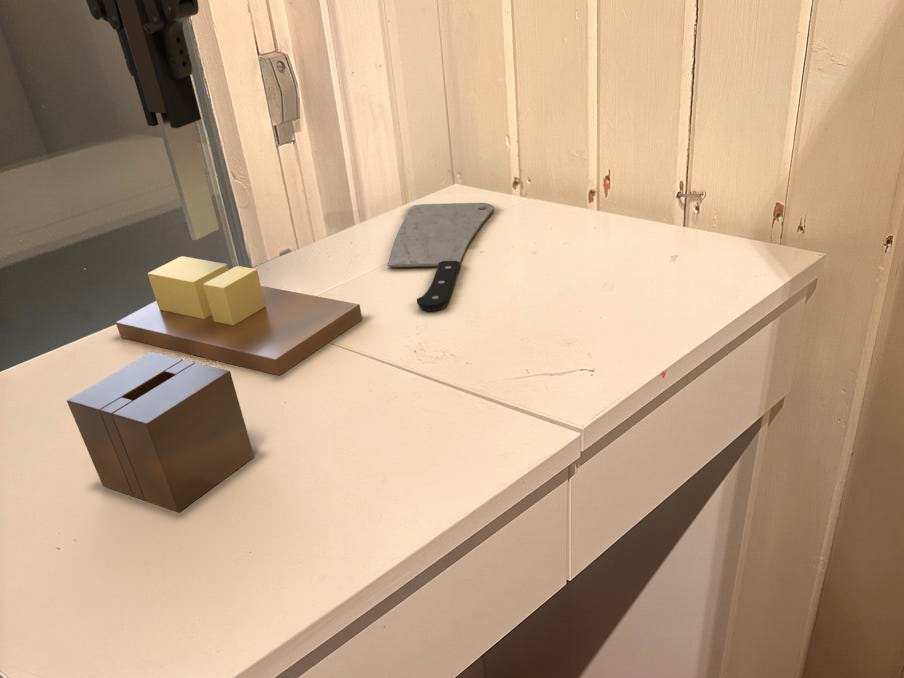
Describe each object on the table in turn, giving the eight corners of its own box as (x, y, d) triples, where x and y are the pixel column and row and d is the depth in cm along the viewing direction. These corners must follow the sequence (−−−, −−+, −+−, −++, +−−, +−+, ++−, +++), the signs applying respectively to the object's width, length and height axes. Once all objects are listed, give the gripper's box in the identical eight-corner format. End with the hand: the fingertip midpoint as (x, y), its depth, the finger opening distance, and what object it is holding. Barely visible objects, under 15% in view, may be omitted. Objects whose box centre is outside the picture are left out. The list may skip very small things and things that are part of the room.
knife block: (102, 486, 67) (65, 400, 63) (179, 434, 72) (151, 351, 67) (179, 512, 64) (146, 424, 59) (254, 456, 69) (230, 370, 64)
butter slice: (213, 321, 84) (202, 283, 82) (246, 302, 87) (236, 265, 85) (233, 325, 83) (223, 287, 81) (265, 306, 86) (256, 269, 83)
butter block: (159, 309, 87) (147, 273, 85) (192, 291, 90) (181, 255, 88) (204, 319, 85) (193, 282, 82) (237, 300, 87) (227, 263, 85)
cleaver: (348, 312, 87) (451, 310, 85) (347, 306, 86) (450, 305, 85) (413, 207, 108) (496, 204, 106) (412, 203, 107) (496, 200, 106)
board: (120, 337, 87) (115, 322, 86) (208, 289, 94) (204, 274, 93) (279, 375, 78) (275, 359, 77) (362, 319, 86) (359, 304, 85)
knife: (185, 239, 81) (109, -24, 68) (209, 227, 82) (139, -32, 69) (202, 241, 80) (127, -25, 67) (225, 229, 82) (157, -32, 69)
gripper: (186, -300, 58) (273, 115, 74) (34, -271, 64) (144, 105, 80) (95, -300, 53) (209, 141, 69) (-58, -269, 60) (78, 129, 76)
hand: (174, 121), depth 75 cm, fingers closed on knife, 2 cm apart
